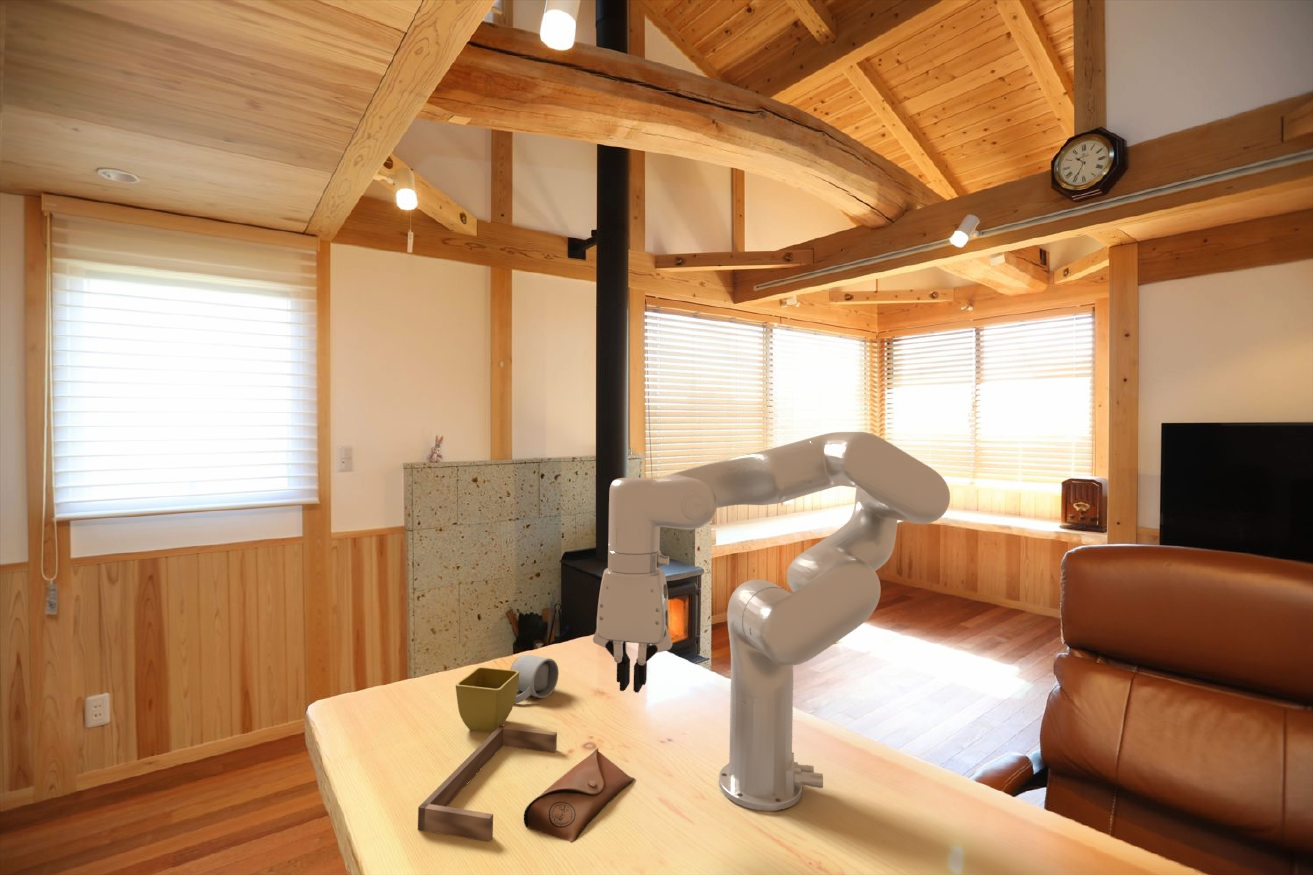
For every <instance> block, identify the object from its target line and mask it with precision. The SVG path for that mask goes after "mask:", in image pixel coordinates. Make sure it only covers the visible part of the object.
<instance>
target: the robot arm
mask: <svg viewBox="0 0 1313 875" xmlns="http://www.w3.org/2000/svg"><path fill="white" fill-rule="evenodd" d="M841 486H842V487H849V488H856V489H855V496H854V500H855V501H854V509H853V511H852V514H851V517H850V518H849V520H848V521H847V522H846V523H845V524H844V525H843V526H841V527H840V528H839V529H837V530H836V531H835V532H833V533H831V534H830V535H828V536H827V537H825V538H823V539H822V540H821V541H819V542H818V543H816V544H814V545H813V546H810V547H809V548H808V549H807V550H805V551H802V552H801V553H800V554H799V555H798V556H796V557H795V558H794V559H793V561H791V563H790V564H789V566H788V568H787V572H786V581H787V585H788V586H789V589H790V590H791V591H792V592H789V591H788V590H787V589H785V588H783V587H781V586H779V585H777V584H775V583H773V582H771V581H769V580H765V579H751V580H747V581H745V582H743V583H742V584H740V585H738V586H737V587H736V589H734V591H733V592H732V593H731V595H730V598H729V601H728V606H727V630H728V638H729V649H730V699H729V700H730V702H729V704H730V705H729V706H730V711H729V762H728V763H727V764H726V765H724V766H723V767H722V769H721V770H720V772H719V775H718V784H719V785H718V786H719V789H720V790H721V792H722V793H723V794H724V795H725V796H726V798H728V799H729V800H730V801H732V802H734V804H737V805H739V806H742V807H744V808H747V809H750V810H756V811H761V810H762V811H764V812H774V811H775V812H776V811H779V810H780V811H782V810H785V809H788V808H790V807H792V806H794V805H796V803H798V802H799V801H800V799H801V798H802V793H803V789H802V788H803V786H808V787H812V788H817V789H823V788H824V775H823V773H819V772H815V771H814V770H815V769H814V765H811V764H810V765H808V764H805V765H804V764H799V762H797V761H795V757H794V756H795V755H794V754H795V753H794V752H793V721H794V720H793V717H794V716H793V714H794V711H793V710H794V709H793V707H794V702H793V701H794V666H798V665H802V664H804V663H807V662H808V661H811V660H812V659H814V658H815V657H817V656H818V655H820V654H821V653H823V652H824V651H826V650H827V649H828V648H830V647H831V646H833V645H834V644H836V643H837V642H839V641H840V640H842V639H843V638H845V637H846V636H847V635H849V634H851V633H852V632H853V631H854V630H856V629H857V628H858V627H860V626H861V625H863V624H864V623H865V622H867V620H868V619H869V618H870V617H871V616H872V615H873V613H874V611H875V610H876V608H877V607H878V604H879V601H880V598H881V593H882V592H881V590H882V589H881V581H880V579H879V576H878V574H877V573H876V571H878V570H879V569H880V568H882V566H884V565H885V564H886V563H887V562H888V561H889V559H890V558H891V556H892V555H893V552H894V548H895V544H896V540H897V539H896V538H897V530H898V521H901V522H907V523H911V524H917V525H925V524H932V523H933V522H935V521H938V520H940V518H942V517H943V516H944V514H945V513H946V512H947V510H948V508H949V506H950V501H951V492H950V489H949V488H950V487H949V486H948V483H947V482H946V481H945V479H944V477H943V476H942V475H941V474H940V473H939V472H937V471H936V470H935V469H933V468H932V467H930V466H929V465H928V464H926V463H924V462H922V461H920V460H918V459H917V458H915V457H914V456H912V455H910V454H909V453H907V452H906V451H905V450H903V449H901V448H899V447H897V446H895V445H894V444H893V443H890V442H889V441H887V440H885V439H883V438H881V436H877V435H875V434H872V433H869V432H866V431H837V432H829V433H824V434H820V435H816V436H812V437H809V438H806V439H805V438H804V439H801V440H799V441H794V442H791V443H788V444H784V445H779V446H777V447H776V446H775V447H773V448H769V449H764V450H760V451H756V452H753V453H747V454H744V455H741V456H737V457H733V458H729V459H724V460H721V461H717V462H712V463H707V464H704V465H699V466H696V467H695V466H694V467H692V468H688V469H685V470H680V471H677V472H673V473H670V474H667V475H666V476H663V477H661V478H660V479H659V480H655V479H653V478H648V477H620V478H616V479H614V480H612V482H611V483H610V487H609V493H608V494H609V495H608V496H609V498H608V499H609V501H608V541H607V542H608V549H607V552H608V553H607V568H605V569H604V570H603V574H602V578H601V583H600V589H599V595H598V604H597V615H596V629H595V632H594V636H593V638H592V642H593V643H594V644H596V645H598V646H600V647H602V648H605V649H606V650H607V652H608V653H609V654H610V655H611V656H612V657H613V660H614V662H615V663H616V682H617V683H619V692H624V691H626V690H627V688H628V687H629V684H630V681H631V679H630V678H631V658H630V656H629V654H628V653H627V652H628V650H627V649H628V648H627V647H628V646H627V643H634V644H638V646H637V647H638V648H637V658H636V662H635V663H634V665H633V689H632V690H633V692H634V693H636V694H639V692H640V691H641V689H642V687H643V686H645V685H646V684H647V676H648V675H647V674H648V673H647V672H648V671H647V670H648V666H647V665H648V661H649V660H650V659H652V658H653V657H654V656H655V655H656V654H657V653H663V652H666V651H669V650H671V648H672V647H673V640H672V638H671V635H670V633H669V627H670V614H669V612H670V610H669V608H670V607H669V593H668V585H667V578H666V577H667V576H666V573H665V572H666V571H664V570H663V569H661V567H664V566H669V565H670V556H667V555H665V554H662V553H661V550H660V540H661V538H660V537H661V527H663V528H671V529H677V530H678V529H679V530H689V531H691V530H696V529H700V528H701V529H702V527H704V526H706V525H707V524H709V523H710V522H711V521H712V520H713V519H714V517H715V515H716V512H717V509H720V508H723V507H731V506H741V505H742V506H746V505H747V506H748V505H749V506H768V505H777V504H782V503H785V502H788V501H791V500H795V499H799V498H801V497H804V496H808V495H812V494H815V493H817V492H818V493H819V492H821V491H825V490H828V489H832V488H835V487H836V488H837V487H841ZM781 809H782V810H781Z"/></svg>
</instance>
